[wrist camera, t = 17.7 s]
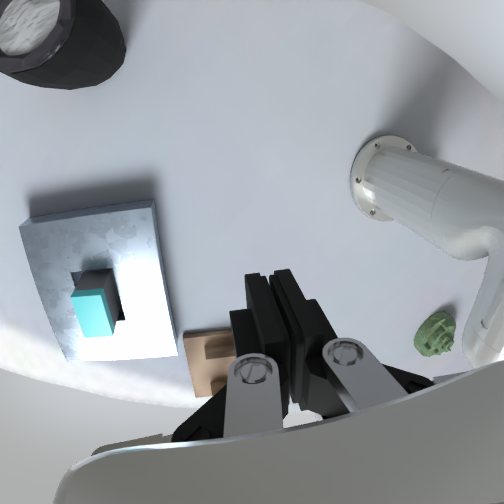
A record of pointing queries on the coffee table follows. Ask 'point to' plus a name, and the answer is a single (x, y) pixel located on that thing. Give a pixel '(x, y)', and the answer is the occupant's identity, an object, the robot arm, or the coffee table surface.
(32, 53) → the portable speaker
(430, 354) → the decorative artifact
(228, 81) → the coffee table surface
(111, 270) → the plug
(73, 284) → the port
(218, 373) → the brown holder base
